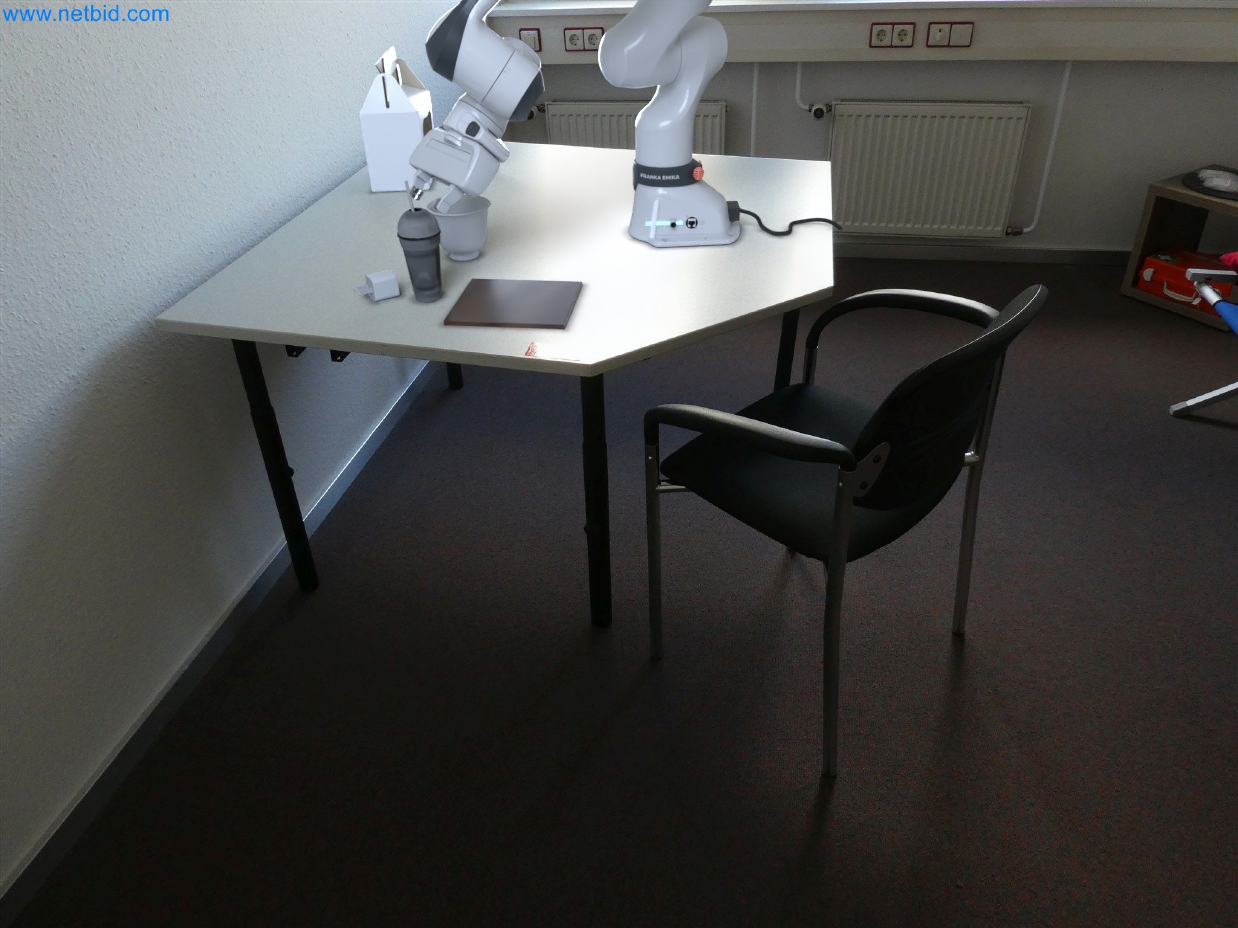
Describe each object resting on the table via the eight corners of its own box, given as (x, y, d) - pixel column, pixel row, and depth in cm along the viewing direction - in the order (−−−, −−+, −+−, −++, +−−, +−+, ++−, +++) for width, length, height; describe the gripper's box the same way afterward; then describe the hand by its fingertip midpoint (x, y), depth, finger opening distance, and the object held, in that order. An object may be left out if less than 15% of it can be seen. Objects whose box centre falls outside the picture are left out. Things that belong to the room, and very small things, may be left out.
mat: (582, 285, 160) (582, 281, 160) (564, 329, 145) (564, 324, 145) (472, 282, 162) (471, 278, 162) (444, 325, 148) (443, 320, 147)
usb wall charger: (400, 297, 158) (396, 275, 155) (361, 306, 155) (357, 284, 152) (391, 289, 160) (388, 268, 158) (354, 298, 157) (349, 277, 155)
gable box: (386, 166, 227) (366, 45, 211) (439, 164, 228) (423, 43, 212) (371, 193, 209) (349, 62, 193) (429, 190, 209) (411, 60, 194)
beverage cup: (430, 308, 153) (412, 191, 142) (398, 300, 156) (379, 184, 145) (458, 293, 158) (443, 179, 147) (427, 286, 161) (410, 173, 150)
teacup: (408, 258, 173) (400, 206, 168) (476, 240, 181) (470, 190, 175) (438, 276, 165) (430, 222, 160) (507, 256, 173) (503, 205, 167)
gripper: (427, 110, 153) (383, 180, 153) (488, 132, 139) (439, 208, 139) (454, 133, 157) (411, 200, 158) (515, 156, 144) (468, 230, 144)
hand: (425, 204), depth 149 cm, fingers open, 8 cm apart
